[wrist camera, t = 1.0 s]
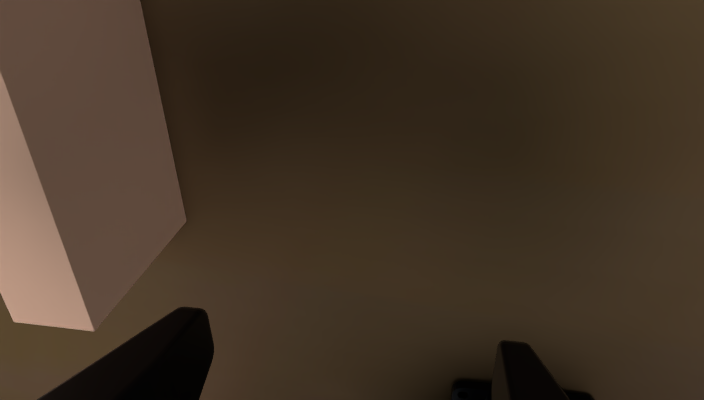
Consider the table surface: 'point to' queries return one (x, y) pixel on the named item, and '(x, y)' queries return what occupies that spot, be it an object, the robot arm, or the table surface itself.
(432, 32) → the table surface
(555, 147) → the table surface
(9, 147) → the beige rectangular block
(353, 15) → the table surface
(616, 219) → the table surface
